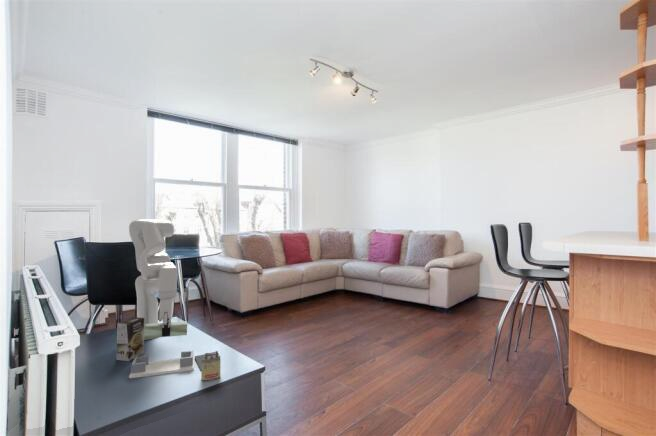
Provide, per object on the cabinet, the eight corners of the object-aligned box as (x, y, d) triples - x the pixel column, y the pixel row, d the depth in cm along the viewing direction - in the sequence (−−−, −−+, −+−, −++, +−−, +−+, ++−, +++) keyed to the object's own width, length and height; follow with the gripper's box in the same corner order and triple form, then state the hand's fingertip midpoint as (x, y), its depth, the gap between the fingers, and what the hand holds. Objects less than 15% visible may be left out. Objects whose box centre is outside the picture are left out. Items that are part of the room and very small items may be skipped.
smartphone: (200, 370, 137) (194, 356, 150) (200, 372, 137) (193, 358, 150) (218, 366, 140) (210, 353, 153) (218, 368, 140) (210, 355, 153)
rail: (145, 335, 151) (145, 324, 150) (187, 332, 156) (187, 321, 156) (144, 338, 147) (144, 327, 147) (186, 335, 153) (187, 324, 153)
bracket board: (134, 366, 141) (134, 355, 140) (194, 358, 148) (194, 348, 148) (129, 378, 130) (129, 366, 130) (193, 370, 138) (193, 359, 138)
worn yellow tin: (201, 382, 128) (202, 356, 128) (200, 377, 132) (200, 352, 131) (221, 378, 132) (221, 352, 132) (219, 374, 135) (219, 349, 135)
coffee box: (128, 361, 145) (129, 324, 144) (116, 360, 146) (116, 322, 146) (144, 353, 154) (144, 317, 153) (132, 351, 155) (132, 316, 155)
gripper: (160, 289, 157) (159, 327, 158) (155, 299, 142) (154, 342, 143) (178, 288, 160) (177, 326, 161) (175, 298, 144) (174, 340, 145)
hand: (166, 333), depth 152 cm, fingers closed on rail, 3 cm apart
